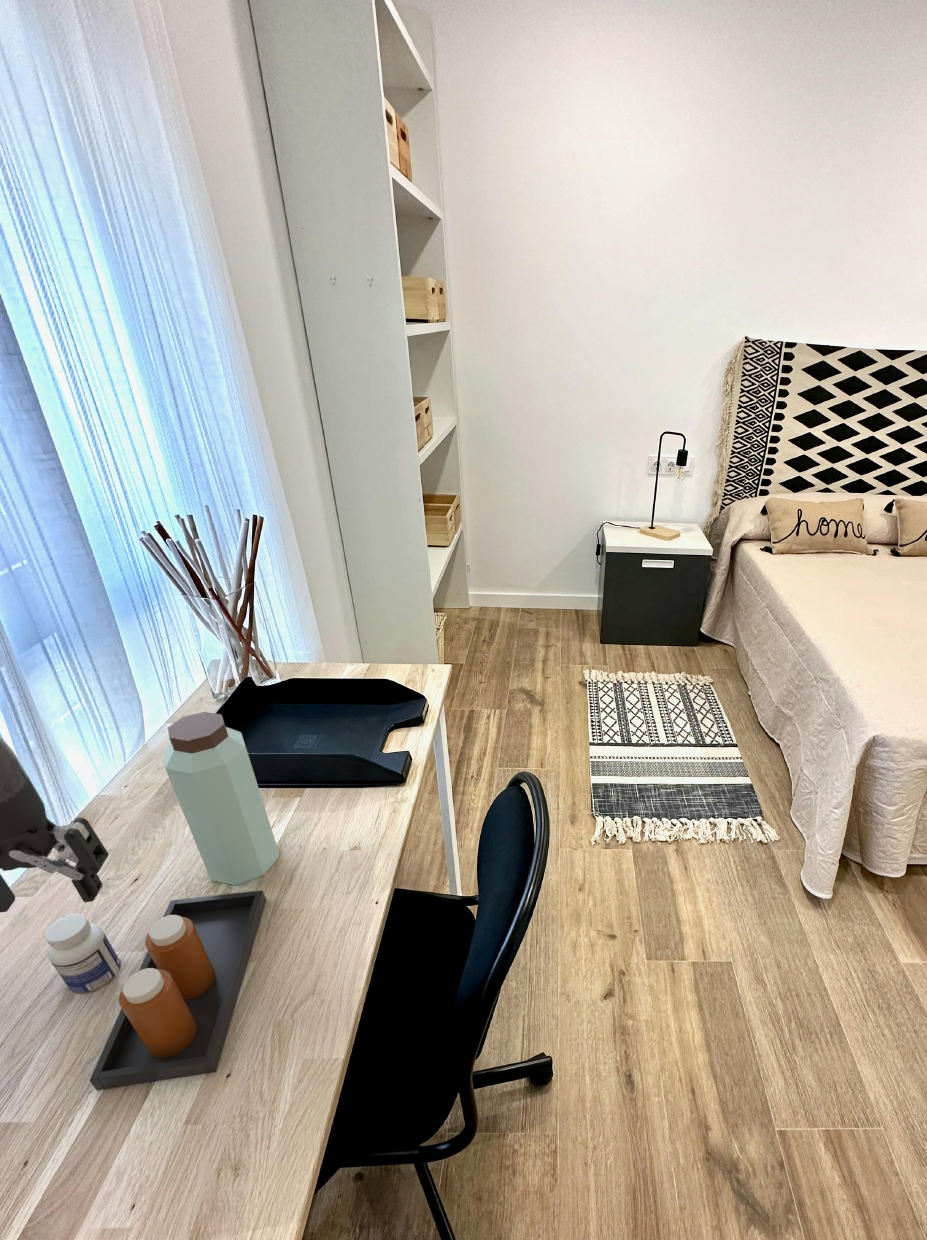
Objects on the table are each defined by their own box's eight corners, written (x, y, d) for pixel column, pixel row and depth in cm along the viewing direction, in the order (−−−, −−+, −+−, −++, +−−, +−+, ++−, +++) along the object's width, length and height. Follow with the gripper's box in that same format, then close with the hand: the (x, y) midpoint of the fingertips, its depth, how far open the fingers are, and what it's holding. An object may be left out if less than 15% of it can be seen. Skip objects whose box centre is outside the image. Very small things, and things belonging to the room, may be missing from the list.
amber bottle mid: (164, 1003, 74) (133, 947, 69) (178, 967, 78) (150, 912, 72) (208, 997, 75) (181, 941, 69) (220, 962, 79) (195, 907, 73)
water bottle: (258, 832, 99) (213, 697, 86) (296, 860, 95) (255, 722, 81) (194, 870, 92) (135, 729, 79) (232, 902, 88) (176, 759, 74)
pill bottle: (86, 961, 79) (53, 910, 74) (131, 958, 80) (102, 906, 75) (62, 1001, 75) (25, 949, 70) (110, 997, 76) (77, 945, 70)
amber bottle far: (141, 1062, 68) (105, 1007, 63) (157, 1020, 72) (125, 965, 67) (189, 1055, 69) (158, 1000, 64) (202, 1014, 73) (174, 959, 67)
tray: (100, 1095, 66) (88, 1080, 65) (177, 915, 86) (170, 900, 84) (218, 1077, 68) (210, 1062, 67) (268, 904, 88) (262, 890, 86)
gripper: (77, 758, 65) (134, 868, 74) (-81, 771, 63) (-3, 883, 72) (39, 806, 59) (106, 920, 68) (-137, 822, 57) (-44, 938, 66)
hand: (50, 901), depth 70 cm, fingers open, 8 cm apart
